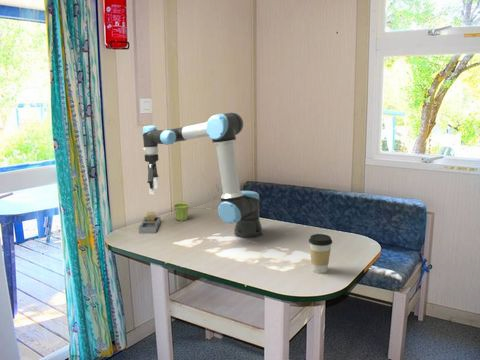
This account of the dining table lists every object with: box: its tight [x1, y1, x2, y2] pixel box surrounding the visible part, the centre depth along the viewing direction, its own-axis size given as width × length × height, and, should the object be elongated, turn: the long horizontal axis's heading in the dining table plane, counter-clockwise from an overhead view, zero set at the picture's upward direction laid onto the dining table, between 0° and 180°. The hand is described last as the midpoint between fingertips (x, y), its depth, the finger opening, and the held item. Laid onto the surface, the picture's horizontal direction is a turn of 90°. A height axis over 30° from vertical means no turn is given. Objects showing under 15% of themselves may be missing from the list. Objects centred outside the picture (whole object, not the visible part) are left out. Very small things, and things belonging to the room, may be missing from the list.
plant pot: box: [173, 202, 190, 222], centre depth 269 cm, size 9×9×9 cm
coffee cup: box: [308, 233, 333, 274], centre depth 194 cm, size 10×10×15 cm
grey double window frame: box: [138, 216, 162, 234], centre depth 256 cm, size 9×20×3 cm, turn 2°
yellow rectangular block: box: [145, 211, 157, 221], centre depth 260 cm, size 4×4×7 cm
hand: (153, 191), depth 257 cm, fingers open, 13 cm apart
